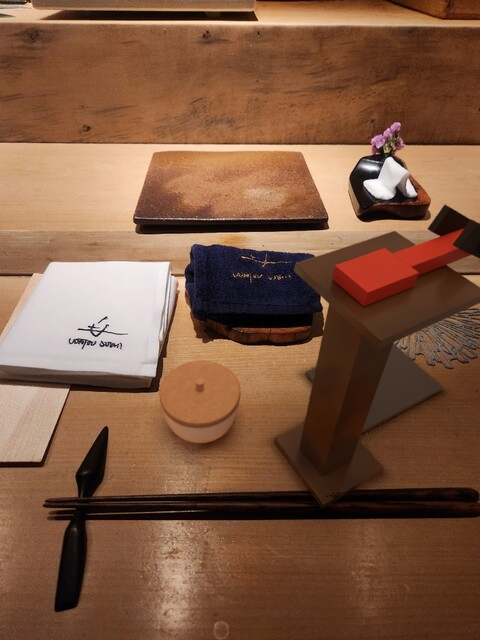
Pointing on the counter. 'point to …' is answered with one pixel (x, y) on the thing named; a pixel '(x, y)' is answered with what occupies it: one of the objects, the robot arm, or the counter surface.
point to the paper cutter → (397, 388)
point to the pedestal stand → (359, 364)
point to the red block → (395, 268)
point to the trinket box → (200, 400)
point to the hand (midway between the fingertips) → (451, 226)
